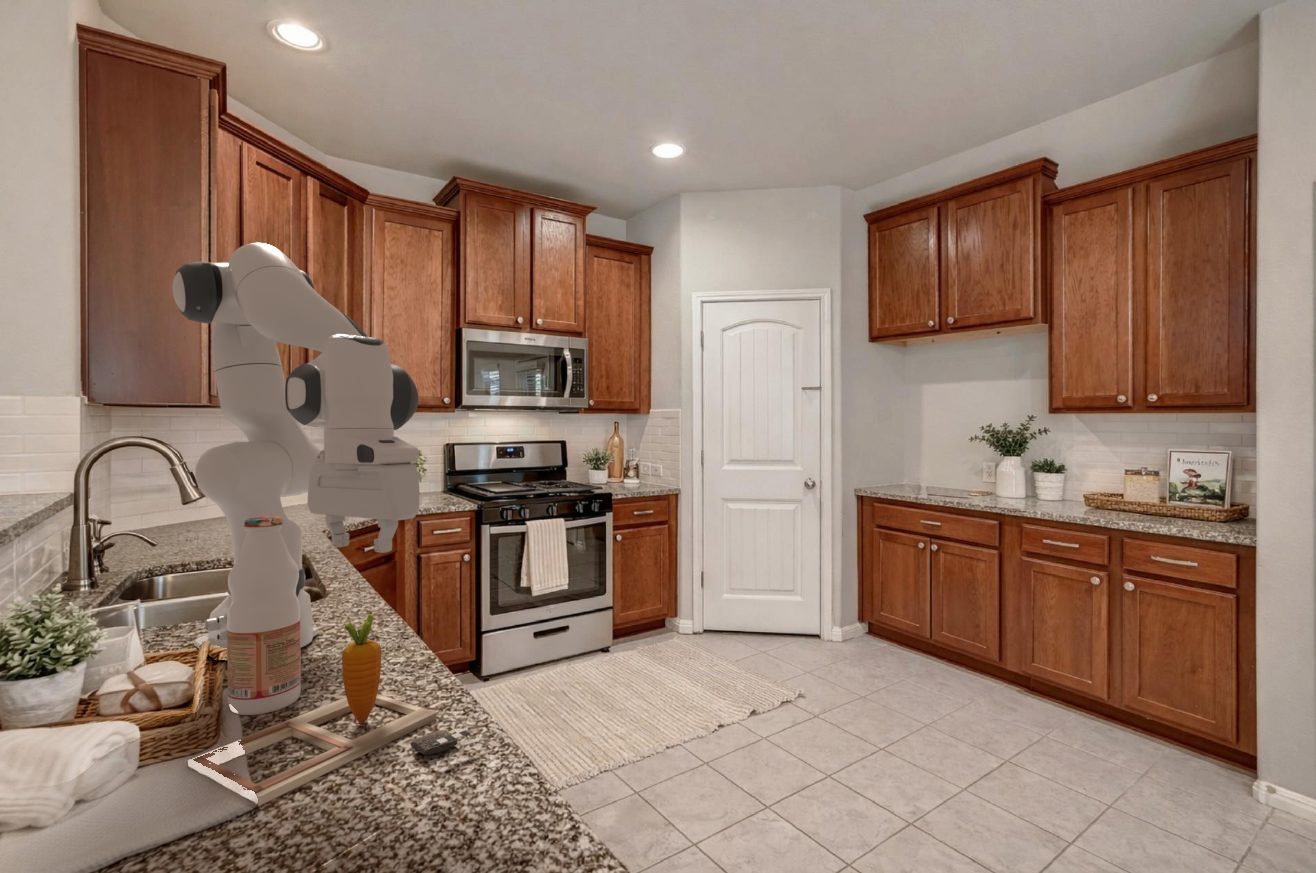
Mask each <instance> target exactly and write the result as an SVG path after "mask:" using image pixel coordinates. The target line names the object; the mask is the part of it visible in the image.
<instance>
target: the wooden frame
mask: <svg viewBox="0 0 1316 873" xmlns="http://www.w3.org/2000/svg"><path fill="white" fill-rule="evenodd" d="M374 705H376V706H379V707H383V708H386V709H388V710H393V711H395V712H397V713H402V714H404V715H403V716H402V717H399V718H397V719H394V720H392V721H391V722H388V723H386V724H384V725H382V726H380V727H377V728H375V729H373V730H371V731H368V732H367V733H364V734H362V735H360V736H358V737H355V738H353V739H351V738H350V739H349V738H348V737H344V736H342V735H339V734H337V733H334V732H332V731H329V730H327V729H323V728H321V727H319V725H321V724H324V723H326V722H328V721H331V720H333V719H337V718H338V717H341V716H343V715H346V714H348V713H350V712H351V713H352V711H351V709H350V707H349V704H348V701H347V697H343V698H341V699H338V700H336V701H334V702H331V703H328V704H325V705H323V706H321V707H318V708H316V709H313V710H310V711H308V712H305V713H303V714H300V715H298V716H295V717H292V718H289V719H287V720H284V721H282V722H280V723H277V724H275V725H272V726H269V727H266V728H264V729H262V730H259V731H256V732H253V733H252V734H249V735H247V736H244V737H241V738H240V739H241V741H238V742H240V743H239V745H240V744H241V745H242V746H243V747H242V748H243V750H245V753H246V755H248V754H251V753H253V752H256V751H258V750H260V749H264V748H265V747H268V746H270V745H273V744H276V743H279V742H280V741H283V740H285V739H288V738H290V737H294V738H295V739H298V740H301V741H304V742H306V743H308V744H311V745H313V746H315V747H318V748H320V749H323V750H324V752H322V753H320V754H318V755H316V756H314V757H311V758H310V759H307V760H306V761H302V762H300V763H298V764H297V765H294V766H293V767H292V766H291V767H290V768H287V769H285V770H284V771H281V772H278V773H277V774H275V775H272V776H270V777H268V778H266V779H263V780H261V781H259V782H257V783H254V782H252V781H250V780H249V779H247V778H244V777H242V776H241V775H239V774H237V773H234V772H233V771H231V770H229V769H226V768H225V767H223V766H221V765H217V764H215V763H213V762H211V761H209V760H207V759H206V758H208V757H211V756H213V755H215V753H213V752H217V750H215V751H213V752H212V753H211V754H210V753H208V754H205V755H203V756H200V757H197V758H195V759H193V760H194V761H196V762H198V763H201V764H202V765H203V766H206V767H208V768H211V769H212V770H215V771H216V772H218V773H219V774H222V775H223V776H224V777H227V778H229V779H231V780H233V781H235V782H237V783H238V784H239V785H242V787H245V788H247V790H252V791H254V792H255V794H256V796H257V798H258V803H257V804H258V805H257V806H258V807H260V806H262V805H264V804H266V803H268V802H270V801H272V800H274V799H276V798H278V797H280V796H282V795H285V794H287V793H289V792H291V791H292V790H295V789H297V788H299V787H301V786H303V785H305V784H307V783H309V782H311V781H314V780H315V779H317V778H320V777H321V776H324V775H325V774H327V773H330V772H332V771H334V770H336V769H338V768H340V767H342V766H344V765H346V764H348V763H350V762H352V761H354V760H356V759H359V758H361V757H362V756H364V755H366V754H368V753H370V752H372V751H375V750H377V749H379V748H382V747H383V746H385V745H386V744H387V745H388V744H389V743H390V742H393V741H396V740H397V739H400V738H401V737H403V736H405V735H408V734H410V733H411V732H414V731H417V730H418V729H419V728H422V727H424V726H426V725H428V724H430V723H432V722H434V721H436V720H437V712H436V711H433V710H430V709H426V708H424V707H421V706H417V705H414V704H410V703H407V702H404V701H401V700H398V699H395V698H392V697H389V696H385V695H384V694H379V693H377V697H376V700H375V703H374ZM224 748H228V747H223V748H222V749H221V748H220V749H218V750H222V751H223V750H227V749H224ZM222 751H220V752H222ZM218 752H219V751H218ZM209 763H211V764H209ZM232 772H233V773H232ZM234 774H235V775H234ZM245 788H243V789H244V790H246V789H245Z"/></svg>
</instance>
